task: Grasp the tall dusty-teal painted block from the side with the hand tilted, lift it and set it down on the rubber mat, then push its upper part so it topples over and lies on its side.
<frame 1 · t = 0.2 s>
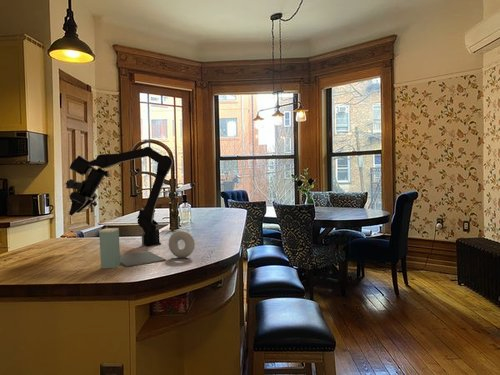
hand: (73, 213, 155), 15 cm above the table, tool tilted 30°, fingers open, 9 cm apart
mat: (138, 259, 133), on the table
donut: (182, 258, 133), on the table
block: (110, 266, 124), on the table
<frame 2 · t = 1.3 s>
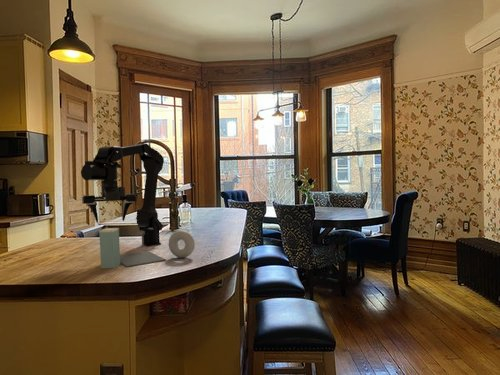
hand: (110, 221, 139), 13 cm above the table, tool pointing down, fingers open, 9 cm apart
nothing on the table moved.
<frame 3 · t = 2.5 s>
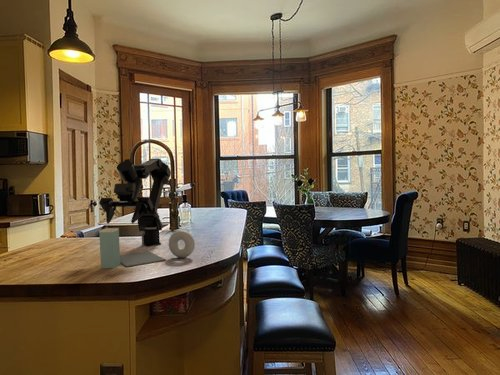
hand: (119, 222, 131), 13 cm above the table, tool tilted 45°, fingers open, 9 cm apart
nothing on the table moved.
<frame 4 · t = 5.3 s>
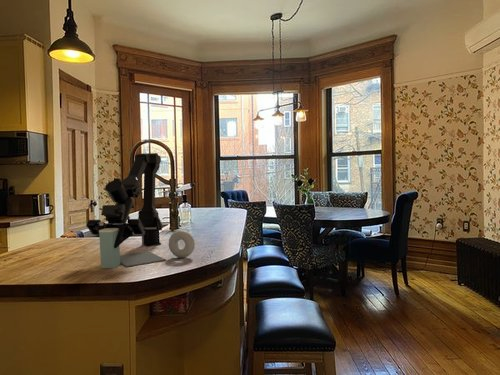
hand: (107, 247, 122), 7 cm above the table, tool tilted 45°, fingers closed on block, 4 cm apart
block: (110, 266, 124), on the table, touching gripper
everything else where it was.
when the fingers open (8 cm above the table, at t = 7.9 s): block stays where it is, resting on mat.
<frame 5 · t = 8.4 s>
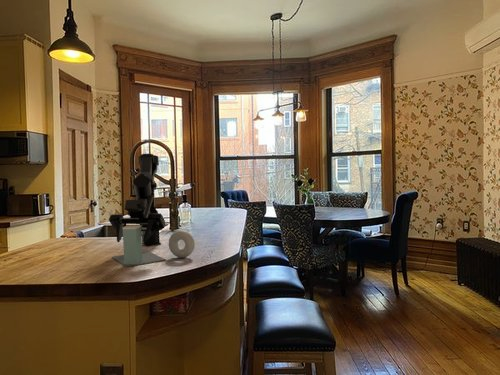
hand: (130, 241, 125), 8 cm above the table, tool tilted 45°, fingers open, 9 cm apart
block: (133, 262, 126), resting on mat
everything else where it was.
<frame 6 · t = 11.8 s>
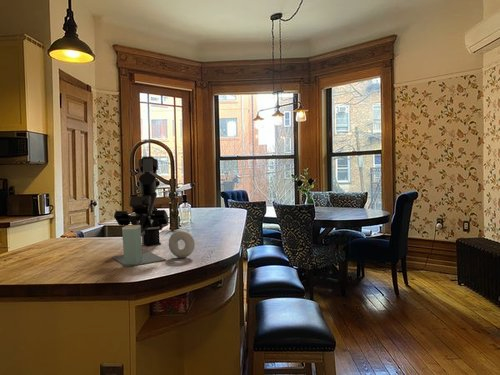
hand: (135, 236, 128), 9 cm above the table, tool tilted 45°, fingers closed, pressing on block
block: (133, 262, 126), resting on mat, touching gripper
everything else where it was.
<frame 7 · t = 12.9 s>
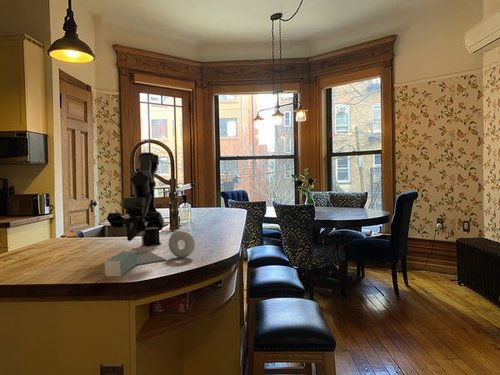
hand: (128, 240, 123), 9 cm above the table, tool tilted 45°, fingers closed
block: (130, 257, 124), point 3 cm above the table, tilted 92°, touching mat
everything else where it was.
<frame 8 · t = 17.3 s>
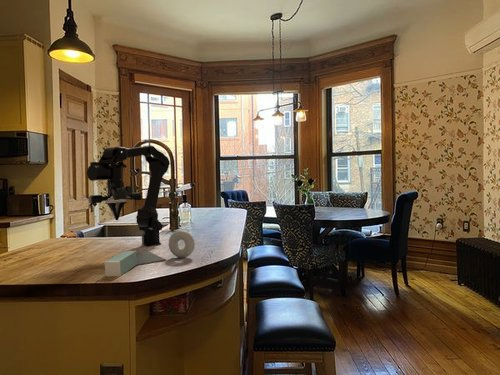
hand: (116, 220, 143), 13 cm above the table, tool pointing down, fingers closed
nothing on the table moved.
at the end: block tilted 92°; block point 2.7 cm above the table; the gripper is holding nothing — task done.
